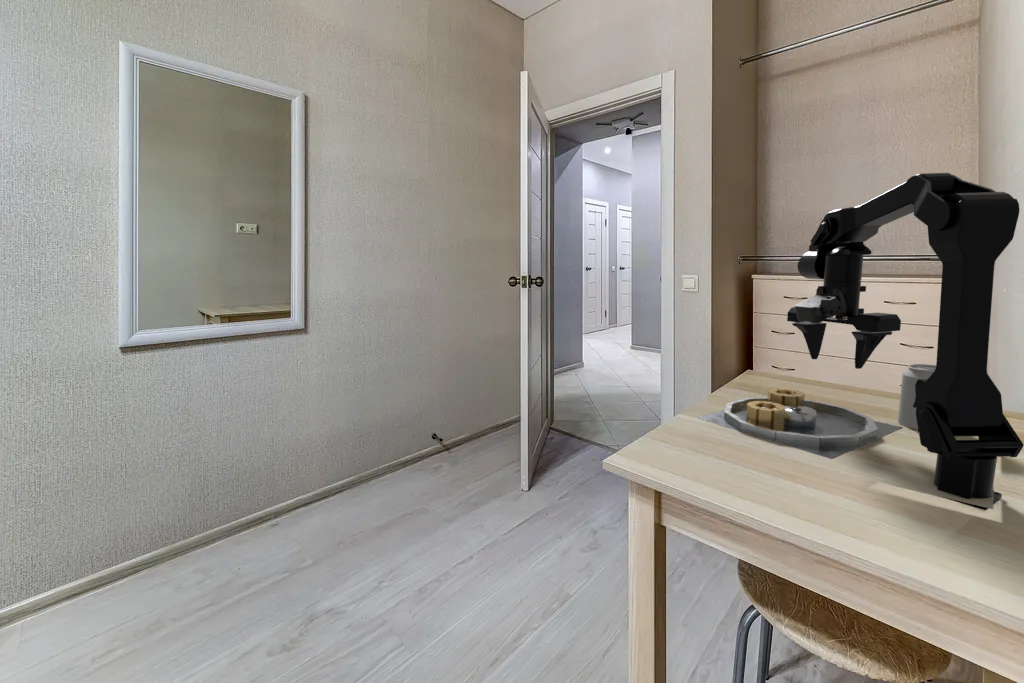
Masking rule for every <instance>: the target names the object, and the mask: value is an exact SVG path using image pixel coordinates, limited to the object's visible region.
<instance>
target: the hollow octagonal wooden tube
mask: <svg viewBox="0 0 1024 683" xmlns="http://www.w3.org/2000/svg"><path fill="white" fill-rule="evenodd" d="M761 407H768V408H770V409H768V408H761ZM784 421H785V406H784V405H781V404H778V403H773V402H767V401H761V402H760V401H753V402H748V404H747V419H746V422H748V423H751V424H755V425H759V426H762V427H766V428H769V429H773V430H776V431H784Z"/></svg>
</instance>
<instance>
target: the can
mask: <svg viewBox="0 0 1024 683" xmlns="http://www.w3.org/2000/svg"><path fill="white" fill-rule="evenodd" d="M935 370H936V365H935V364H928V363H927V364H925V363H921V364H920V363H918V364H917V363H913V364H912V363H911V364H908V365H907V369H906V370H905V371H903V372H902V378H901V387H900V395H899V396H900V397H899V405H898V415H897V423H898V424H899V425H901V426H902V427H906V428H908V429H909V428H910V429H913V430H918V425H917V419H916V408H913V404H914V402H915V397H916V392H915V384H916V382H917V380H918V379H928V378H929V377H930V376H931V375H932V373H933V372H934V371H935Z"/></svg>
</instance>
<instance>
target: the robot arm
mask: <svg viewBox="0 0 1024 683" xmlns="http://www.w3.org/2000/svg"><path fill="white" fill-rule="evenodd" d="M912 213H913V216H914V217H916V219H918V220H919V221H920V222H922V223H923V224H924V225H926V226H927V235H928V236H927V237H928V244H929V246H930V247H931V249H932V250H933V252H934V253H935V255H936V256H937V258H938V259H939V260H940V262H941V264H942V271H941V287H940V299H939V300H940V302H939V314H938V316H939V318H938V319H939V320H938V333H937V334H938V335H937V349H936V363H935V364H936V370H935V371H934V372H933V373H932V375H931V376H930V377H929V378H928V379H918V380H917V382H916V384H915V392H916V397H915V402H914V404H913V408H916V419H917V425H918V436H919V442H920V445H921V446H922V447H924V448H926V450H927V452H930V453H933V454H937V455H936V462H935V463H936V464H935V469H934V470H935V472H934V479H933V483H934V486H935V487H937V491H939V492H943V493H946V494H950V495H953V496H957V497H959V498H963V499H965V500H972V499H979V500H980V499H989V498H991V497H993V498H992V499H993V500H992V501H993V502H992V505H995V504H996V503H997V502H999V500H1001V499H1002V497H1003V494H1002V493H1000V492H998V491H996V490H995V491H993V489H994V482H995V475H996V469H997V468H996V467H997V462H998V457H1002V458H1004V457H1005V458H1006V457H1010V458H1017V457H1018V456H1019V454H1020V453H1021V451H1022V449H1023V448H1024V443H1023V441H1022V440H1021V438H1020V437H1019V436H1018V433H1017V432H1016V431H1015V429H1014V428H1013V427H1012V424H1011V423H1010V422H1009V420H1008V418H1006V416H1005V415H1004V412H1003V411H1004V410H1003V400H1002V398H1003V397H1002V394H1001V391H1000V390H999V388H998V387H997V385H996V384H995V382H994V381H993V380H992V378H991V377H990V375H989V374H988V360H989V359H988V358H989V357H988V356H989V345H990V344H989V343H990V331H991V330H990V329H991V316H992V303H993V289H994V276H995V265H996V261H997V259H998V258H999V257H1000V256H1001V254H1002V253H1003V252H1004V250H1006V249H1007V247H1008V246H1009V245H1010V243H1011V242H1012V241H1013V239H1014V237H1015V231H1016V228H1017V224H1018V220H1019V216H1020V203H1019V200H1018V199H1017V198H1014V197H1013V196H1012V195H1011V194H1010V193H1008V192H1004V191H995V190H993V189H992V188H989V187H986V186H983V185H980V184H976V183H973V182H969V181H966V180H964V179H961V178H960V177H958V176H956V175H955V174H951V173H949V172H929V173H917V174H915V175H912V176H910V177H909V178H908V179H907V180H906V181H905V182H903V183H901V184H899V185H898V186H895V187H893V188H892V189H889V190H887V191H885V192H884V193H881V194H880V195H877V196H876V197H874V198H872V199H870V200H869V201H866V202H864V203H862V204H860V205H857V206H851V207H845V208H839V209H833V210H831V211H828V212H827V213H826V214H825V216H824V217H823V219H822V220H821V222H820V224H819V226H818V228H817V230H816V232H815V233H814V235H813V236H812V238H811V239H810V245H808V251H806V252H805V253H804V254H802V255H801V257H800V258H799V260H798V262H797V270H798V273H799V274H800V275H801V276H802V277H803V278H805V279H810V280H823V285H819V286H817V288H816V291H815V292H816V293H815V295H813V296H810V297H807V298H805V299H804V300H801V301H800V302H797V303H796V304H794V307H793V306H792V307H791V308H790V309H789V310H788V311H787V317H786V321H787V322H791V325H792V326H793V327H796V328H797V329H798V330H799V331H800V332H801V333H802V335H803V338H804V339H805V343H806V346H807V349H808V352H809V355H810V357H811V360H818V358H819V355H820V352H821V348H822V345H823V340H824V336H825V332H826V328H827V323H835V324H843V325H851V326H853V327H854V328H855V330H856V331H851V334H852V336H853V337H854V339H855V353H854V354H855V355H854V368H855V369H858V370H860V369H862V368H863V367H864V365H865V364H866V363H867V361H868V359H869V358H870V357H871V356H872V354H873V352H874V351H875V350H876V348H877V347H878V346H879V345H880V343H881V342H882V341H883V340H884V339H885V337H887V336H891V335H892V334H893V332H898V331H899V332H900V331H901V324H902V320H901V318H900V317H899V315H898V314H895V313H885V312H870V313H869V312H867V313H865V308H862V307H860V298H861V297H860V296H861V293H863V292H866V291H867V286H866V285H862V276H863V275H862V274H863V267H864V266H863V265H864V256H867V255H869V256H870V255H871V254H872V250H871V249H870V247H867V246H866V245H865V242H866V241H868V240H870V239H872V238H873V237H874V236H876V235H877V234H878V233H879V229H880V228H881V227H882V226H884V225H886V224H890V223H892V222H894V221H897V220H899V219H901V218H903V217H905V216H908V215H911V214H912ZM956 437H957V438H958V437H978V439H960V440H959V439H957V438H956ZM942 498H944V499H946V500H950V501H953V502H957V503H959V504H962V505H966V506H969V507H971V508H972V507H973V508H975V509H979V510H984V511H987V510H988V509H989V507H987V506H986V507H985V506H982V505H977V504H973V503H969V502H965V501H962V500H961V501H960V500H956V499H952V498H948V497H944V496H942Z"/></svg>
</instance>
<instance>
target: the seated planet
mask: <svg viewBox="0 0 1024 683" xmlns="http://www.w3.org/2000/svg"><path fill="white" fill-rule="evenodd" d="M785 394H789V395H785ZM805 395H806V394H805V393H803V391H800V390H795V389H792V388H789V389H788V388H780V387H779V388H771V389H768V390H767V396H766V397H767V402H773V403H778V404H781V405H799V406H804V399H805Z"/></svg>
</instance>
